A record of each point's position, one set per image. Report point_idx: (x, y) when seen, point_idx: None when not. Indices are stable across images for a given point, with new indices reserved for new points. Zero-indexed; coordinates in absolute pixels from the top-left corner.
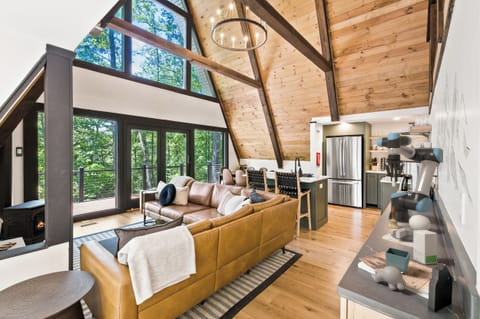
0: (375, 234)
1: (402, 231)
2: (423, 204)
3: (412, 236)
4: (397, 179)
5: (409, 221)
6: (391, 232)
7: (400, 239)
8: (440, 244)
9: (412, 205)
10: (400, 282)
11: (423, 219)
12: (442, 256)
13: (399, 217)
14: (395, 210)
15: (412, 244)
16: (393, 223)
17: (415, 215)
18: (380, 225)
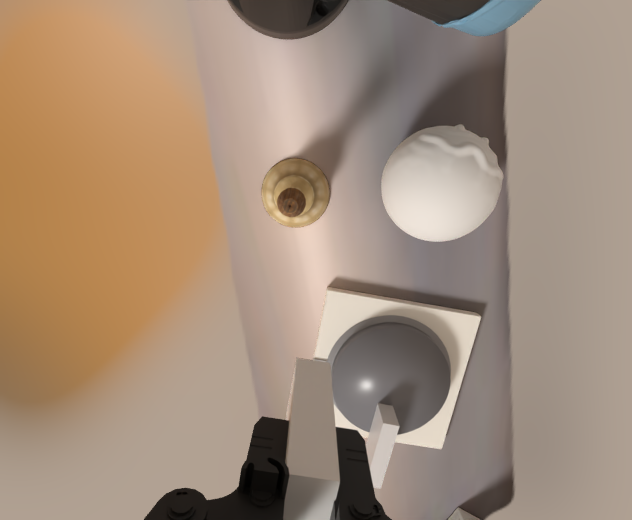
0: (260, 384)
1: (387, 459)
2: (516, 21)
3: (417, 402)
4: (368, 473)
5: (388, 210)
6: (318, 342)
7: None
8: (507, 329)
9: (413, 7)
10: None
11: (475, 222)
12: (506, 458)
13: (298, 20)
14: (305, 205)
15: (417, 442)
16: (299, 216)
17: (433, 198)
18: (230, 208)
